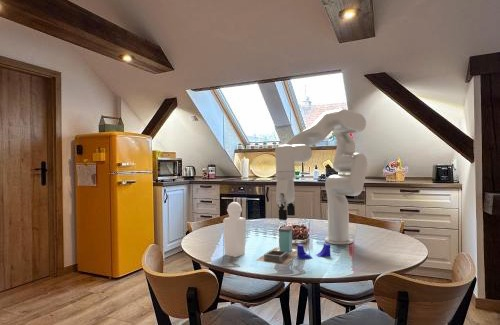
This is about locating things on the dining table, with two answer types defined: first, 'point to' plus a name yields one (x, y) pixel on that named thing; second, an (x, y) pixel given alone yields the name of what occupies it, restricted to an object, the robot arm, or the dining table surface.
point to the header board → (278, 256)
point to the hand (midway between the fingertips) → (287, 217)
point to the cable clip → (323, 253)
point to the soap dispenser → (234, 231)
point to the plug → (285, 239)
